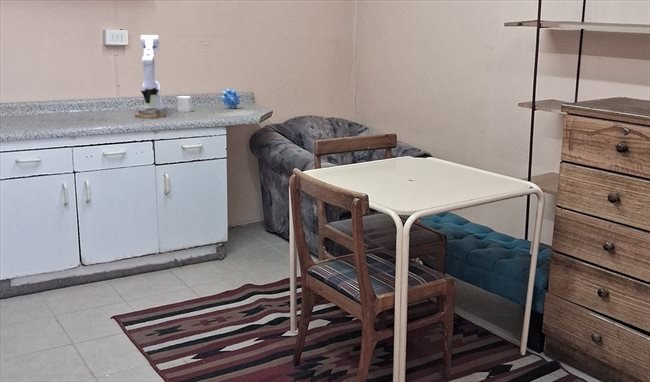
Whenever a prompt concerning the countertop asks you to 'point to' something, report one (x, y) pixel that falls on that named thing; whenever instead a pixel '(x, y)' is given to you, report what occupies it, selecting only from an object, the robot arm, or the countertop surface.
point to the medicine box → (184, 104)
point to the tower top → (151, 111)
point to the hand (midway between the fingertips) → (150, 102)
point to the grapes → (231, 98)
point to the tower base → (150, 116)
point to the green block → (151, 101)
